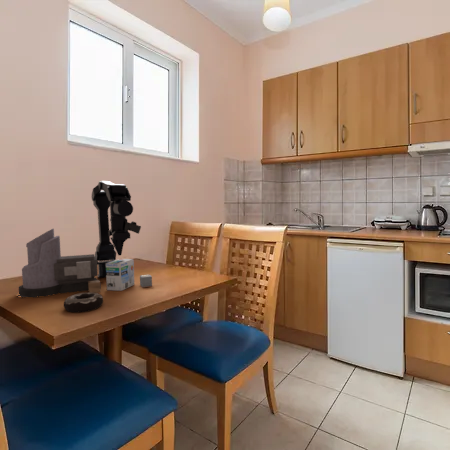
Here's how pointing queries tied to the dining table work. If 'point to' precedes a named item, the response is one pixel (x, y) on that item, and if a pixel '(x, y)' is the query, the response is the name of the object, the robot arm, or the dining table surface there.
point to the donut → (83, 302)
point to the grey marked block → (145, 280)
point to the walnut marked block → (94, 286)
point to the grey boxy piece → (55, 269)
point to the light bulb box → (120, 274)
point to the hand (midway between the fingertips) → (119, 255)
